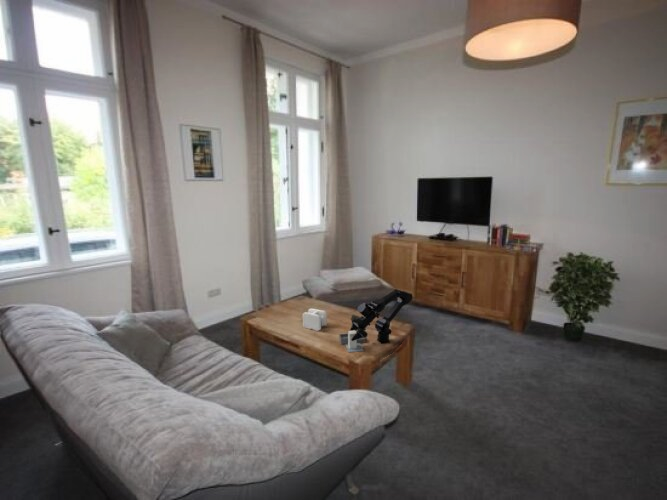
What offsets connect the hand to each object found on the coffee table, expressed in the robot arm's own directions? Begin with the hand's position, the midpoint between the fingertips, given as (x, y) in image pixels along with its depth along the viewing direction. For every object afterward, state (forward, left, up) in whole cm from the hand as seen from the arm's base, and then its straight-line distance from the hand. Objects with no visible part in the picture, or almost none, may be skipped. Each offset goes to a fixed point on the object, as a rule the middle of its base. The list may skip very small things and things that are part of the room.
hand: (350, 337), depth 217 cm
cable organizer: (+11, -38, -7) cm, 40 cm away
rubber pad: (-2, +1, -7) cm, 8 cm away
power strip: (-5, -8, -7) cm, 11 cm away
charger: (-1, 0, -7) cm, 7 cm away
